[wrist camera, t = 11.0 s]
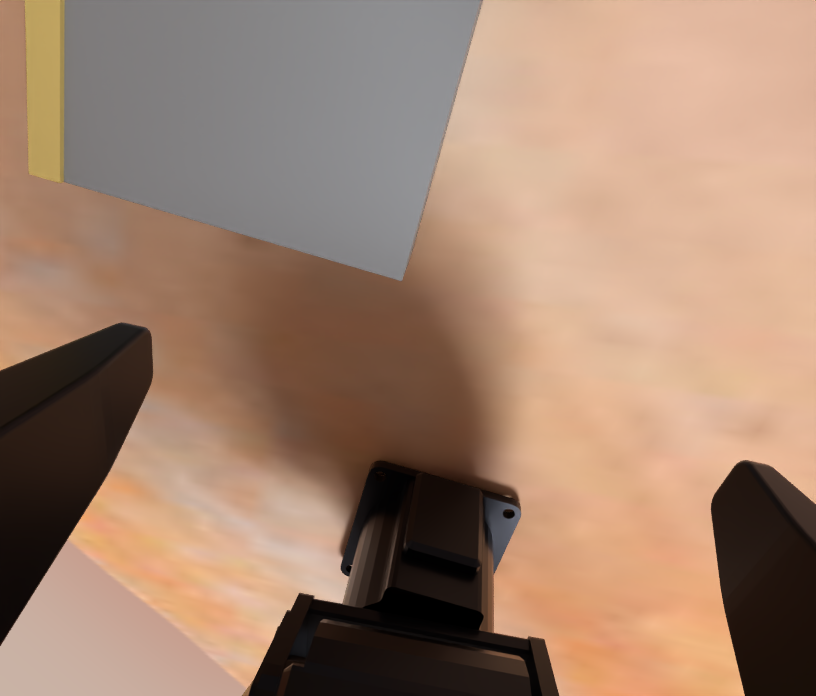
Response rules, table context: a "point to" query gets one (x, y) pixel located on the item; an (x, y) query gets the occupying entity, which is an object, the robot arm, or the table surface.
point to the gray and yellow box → (253, 112)
